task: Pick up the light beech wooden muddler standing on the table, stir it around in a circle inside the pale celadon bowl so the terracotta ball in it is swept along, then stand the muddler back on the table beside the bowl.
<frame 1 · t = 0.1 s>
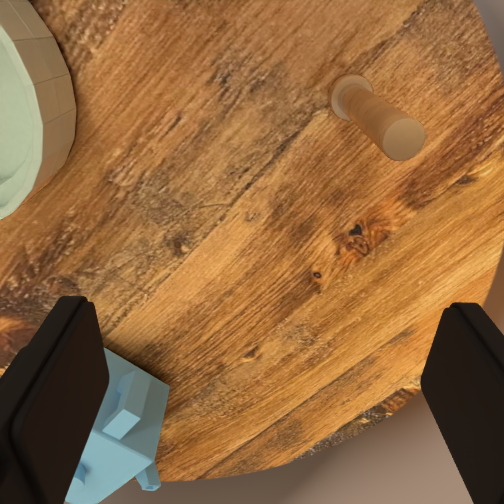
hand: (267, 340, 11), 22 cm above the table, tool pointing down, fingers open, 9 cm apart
teapot: (106, 375, 43), on the table
muddler: (348, 96, 29), on the table
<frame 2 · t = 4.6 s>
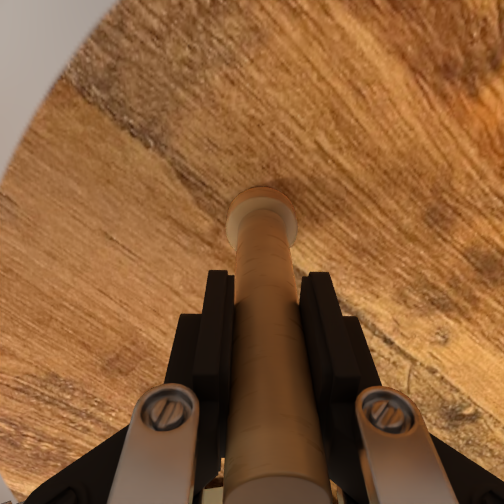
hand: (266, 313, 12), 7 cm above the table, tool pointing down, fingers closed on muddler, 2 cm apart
muddler: (261, 218, 18), on the table, touching gripper
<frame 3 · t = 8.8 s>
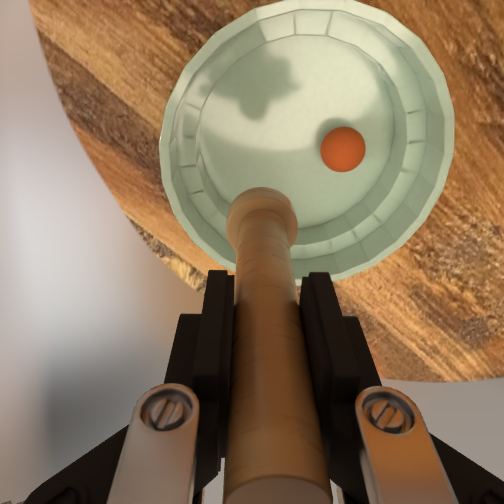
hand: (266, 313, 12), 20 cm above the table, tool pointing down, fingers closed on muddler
bowl: (295, 140, 29), on the table
muddler: (261, 218, 18), point 13 cm above the table, touching gripper
ball: (342, 149, 27), point 2 cm above the table, touching bowl
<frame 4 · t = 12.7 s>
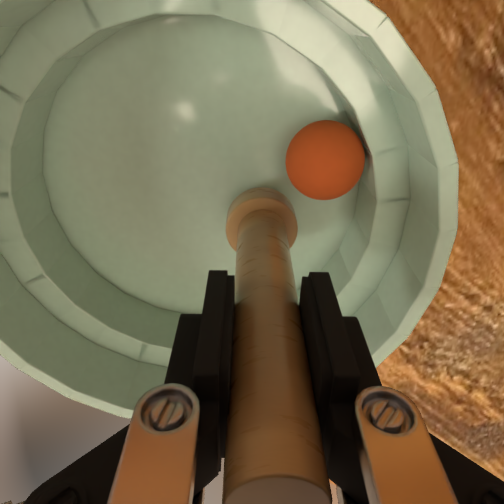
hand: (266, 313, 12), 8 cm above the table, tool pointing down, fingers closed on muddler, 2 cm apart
bowl: (204, 189, 18), on the table
muddler: (261, 218, 18), point 1 cm above the table, touching gripper
ball: (324, 160, 15), point 2 cm above the table, tilted 106°, touching bowl
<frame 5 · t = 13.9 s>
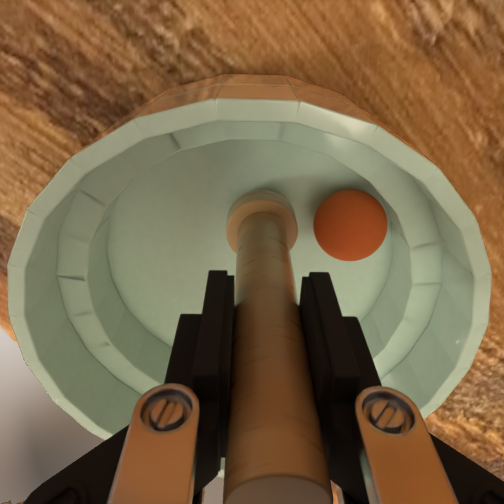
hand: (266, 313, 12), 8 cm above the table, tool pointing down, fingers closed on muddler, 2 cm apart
bowl: (250, 259, 20), on the table
muddler: (261, 221, 18), point 1 cm above the table, touching gripper
ball: (349, 225, 17), point 2 cm above the table, tilted 100°, touching bowl
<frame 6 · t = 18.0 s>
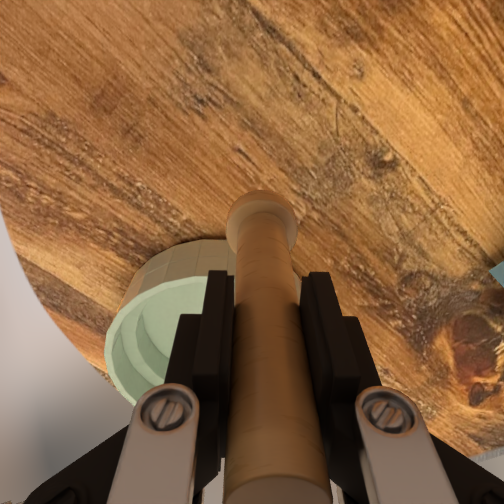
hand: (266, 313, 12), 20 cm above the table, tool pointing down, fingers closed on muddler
bowl: (218, 317, 37), on the table
muddler: (261, 221, 18), point 13 cm above the table, touching gripper
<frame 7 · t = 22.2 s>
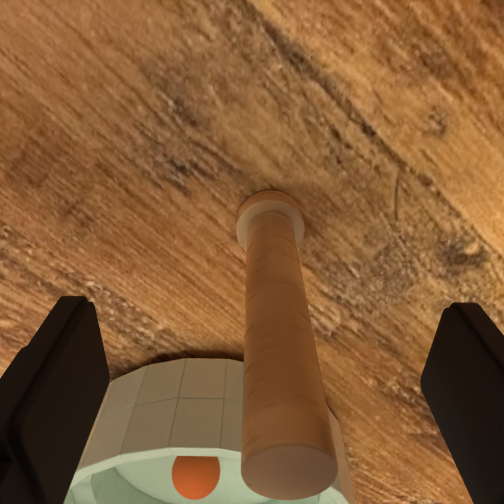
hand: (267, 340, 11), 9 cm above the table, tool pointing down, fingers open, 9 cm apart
bowl: (211, 445, 27), on the table
muddler: (269, 220, 19), on the table
ball: (196, 471, 25), point 2 cm above the table, tilted 108°, touching bowl
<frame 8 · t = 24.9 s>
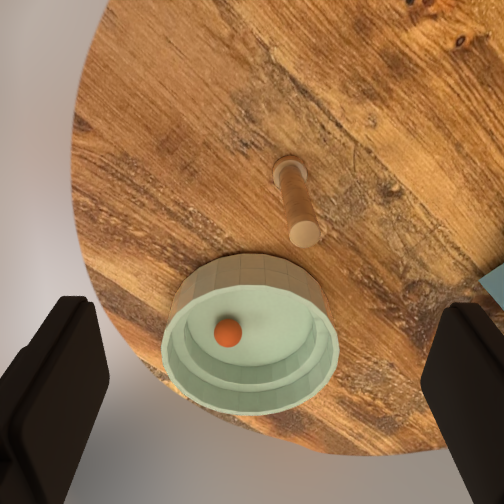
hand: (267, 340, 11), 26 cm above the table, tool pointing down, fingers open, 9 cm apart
bowl: (250, 317, 44), on the table
muddler: (289, 171, 36), on the table
ball: (228, 333, 43), point 2 cm above the table, tilted 156°, touching bowl
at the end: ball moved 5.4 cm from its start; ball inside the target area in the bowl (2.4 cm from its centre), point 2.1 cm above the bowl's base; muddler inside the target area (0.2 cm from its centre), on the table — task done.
